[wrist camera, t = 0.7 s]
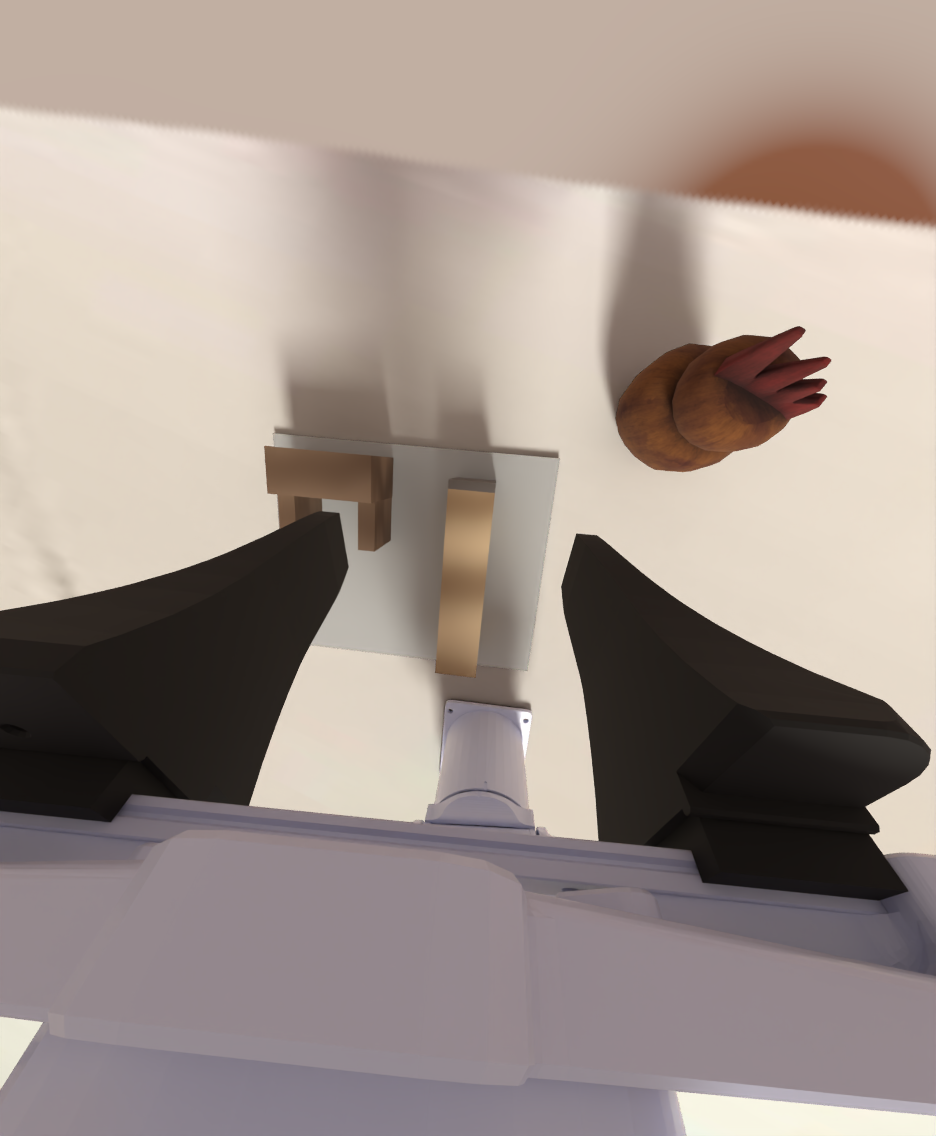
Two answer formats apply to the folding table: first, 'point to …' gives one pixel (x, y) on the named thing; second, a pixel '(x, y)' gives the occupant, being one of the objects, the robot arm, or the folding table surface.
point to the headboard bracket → (333, 488)
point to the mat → (439, 552)
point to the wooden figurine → (716, 400)
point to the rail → (464, 574)
